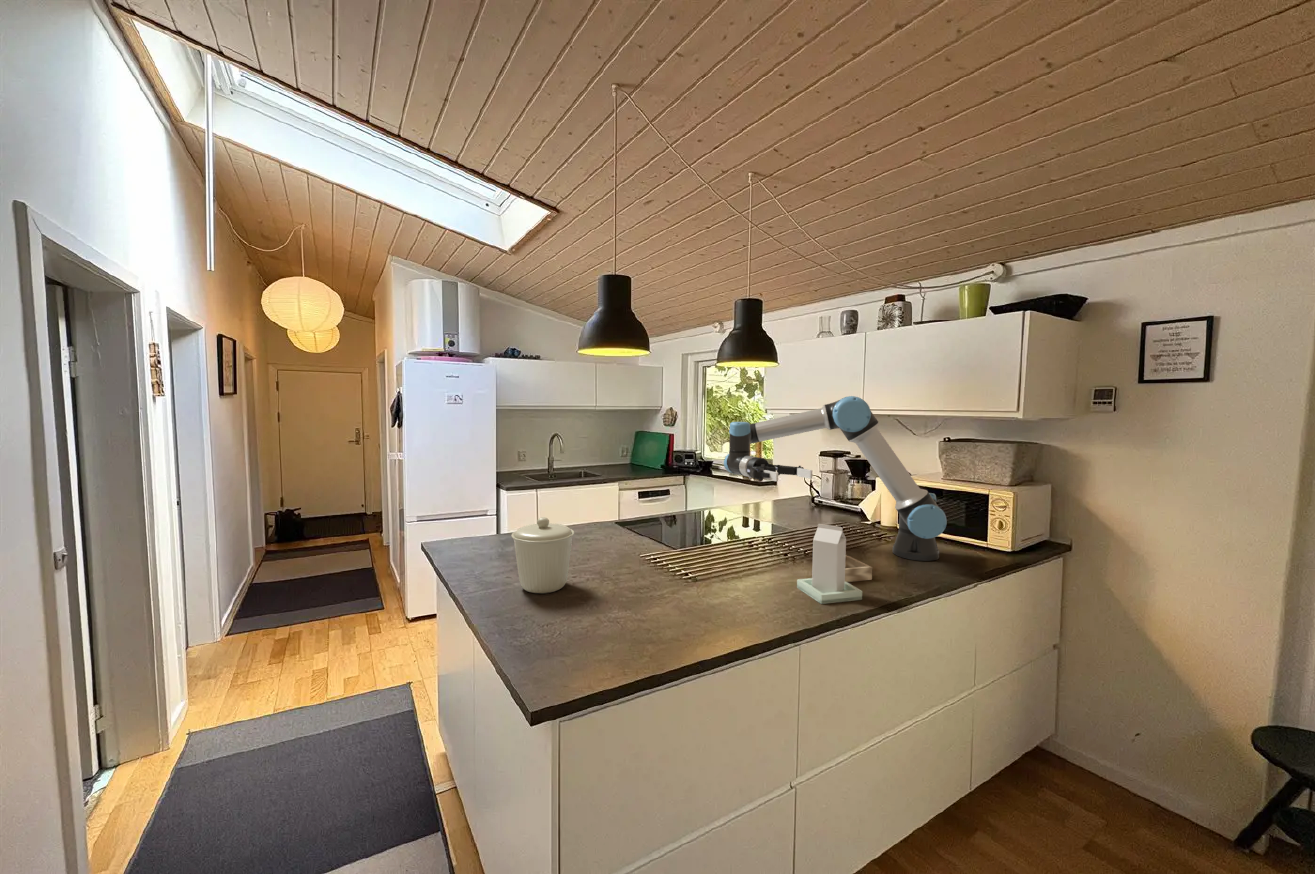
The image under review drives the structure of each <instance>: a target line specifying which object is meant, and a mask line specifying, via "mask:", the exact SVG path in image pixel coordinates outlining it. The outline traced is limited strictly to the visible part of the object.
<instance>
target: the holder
mask: <svg viewBox="0 0 1315 874" xmlns="http://www.w3.org/2000/svg"><path fill="white" fill-rule="evenodd" d="M811 565H812V567H813V563H812V564H811ZM872 579H873V566H871V565H869V564H867V563H865V562H862V561H861V560H859V559H857V558H854V557H852V556H850V555H847V554H846V558H845V582H847V583H851V582H861V581H862V582H863V581H870V580H872Z"/></svg>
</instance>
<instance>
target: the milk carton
mask: <svg viewBox="0 0 1315 874" xmlns="http://www.w3.org/2000/svg"><path fill="white" fill-rule="evenodd" d="M843 531H844V530H843V526H842V527H841V526H837V525H836V526H835V525H830V524H824V523H823V524H822V523H818V524H817V529H816V531H815V534H814V536H813V539H812V540H813V541H812V564H813V567H812V568H811V575H812V576H811V578H812V587H814V588H815V589H817V590H819V591H820V592H822V593H830V592H840V591H842V590H843V589H844V588H845V558H846V555H847V554H846V553H847V552H846V550H847V549H846V548H847V537H846V536H845V533H844V532H843Z"/></svg>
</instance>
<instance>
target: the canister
mask: <svg viewBox="0 0 1315 874" xmlns="http://www.w3.org/2000/svg"><path fill="white" fill-rule="evenodd" d="M574 535H575V530H573V529H572V528H570V527H569V526H567V525H564V524H559V523H550V520H549V519H548V518H547V517H539V518H538V519H537V521H536V524H535V523H533V524H529V525H524V526H522V527H520V528H518V529H517V530H514V531H513V532H511V538H512V539H513V542H514V544H513V545H514V551H515V558H516V559H515V561H516V566H517V572H518V574H517V575H518V580H519V584H520V586H521V588H522V589H523V590H524V591H526V592H529V593H533V594H549V593H554V592H556V591H559V590H560V589H561V590H562V588H563V587H564V586H565V585H566V583H567V580H568V576H569V571H570V570H569V567H570V561H571V560H570V558H571V549H572V542H573V541H572V539H573V536H574Z"/></svg>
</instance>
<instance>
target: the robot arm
mask: <svg viewBox="0 0 1315 874" xmlns="http://www.w3.org/2000/svg"><path fill="white" fill-rule="evenodd" d="M879 426H880V422H879V420H878V419H877V418H876V416H875V414H874V413H873V412H872V410H871V409H870V406H869V404H868V402H866V401H865V400H864V399H862V398H861V397H858V396H854V395H851V396H850V395H849V396H845V397H843V398H840V399H838V400H836V401H834V402H831V403H827V404H826V403H825V404H823V405H822V407H821V408H815V409H812V410H808V411H803V412H799V413H795V414H794V413H793V414H790V415H789V414H788V415H785V416H780V417H777V418H772V419H767V420H762V421H757V422H754V423H750V422H748V421H732V422H730V423H729V430H728V432H729V447H728V448H729V451H728V454H726V456H725V458H724V460H723V467H724V469H725V470H726V471H727V472H728V473H731V474H733V475H738V476H742V477H748V479H749V480H751V479H756V480H758V481H763V479H764V480H768V481H772V482H779V476H780V475H790V476H796V477H799V478H805V479H809V480H811V479H812V480H813V470H812V469H808V468H807V469H806V468H804V467H802V465H798V466H791V465H783V464H782V465H781V464H772V463H769V462H768V460H767V459H766V458H763V457H760V456H759V457H757V456H752V455H751V444H757V443H761V442H764V441H765V442H766V441H769V440H775V439H779V438H785V437H789V436H794V435H799V434H802V433H809V432H814V431H817V430H818V431H819V430H822V429H823V430H824V429H827V430H829V431H831V430H835V429H839V430H840V431H841V433H842V434H843V435H844V437H845V438H846V439H847V441H848V442H850V443H854V444H856V446H857V447H858V449H859V450H860V451H861V453H862V454H863V456H864V457H865V459H866V460H867V462H868V463H869V464H870V466H871V467H872V469H873V470H874V472H875V473H876V474H877V476H878V478H879V479H880V480H881V482H882V483H883V484H884V486H885V487H886V489H887V490H888V492H889V493H890V494H891V496H892V498H893V499H894V500H895V506H894V508H895V510H896V512H897V513H898V514H899V515H898V517H899V519H898V533H897V535H896V538H895V541H894V544H893V545H892V554H894V555H895V556H897V557H900V558H902V559H908V560H913V561H920V562H921V561H922V562H923V561H924V562H930V561H931V562H932V561H936V560H938V559H940V550H939V547H938V543H937V540H936V537H939V536H940V535H941V534H942V533H943V532H944V531H945V530H946V527H947V523H948V522H947V516H946V513H945V511H944V510H943V509H942V508H941V507H939V505H938V504H937V501H938V500H937V495H936V494H935V493H934V492H933V493H932V492H929V491H928V490H927V489H923V488H920V486H919V485H918V484H917V482H916V481H915V480H914V478H913V477H912V475H911V474H910V473H909V471H908V470H907V468H906V467H905V465H904V464H903V462H902V461H901V459H899V457H898V455H897V454H896V453H895V451H894V450H893V449H892V447H891V446H890V444H889V442H887V440H886V439H885V437H884V436H883V434H882V433H881V431H880V429H879Z"/></svg>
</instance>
